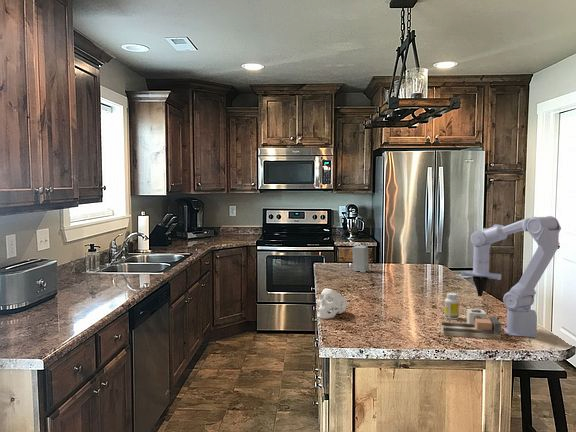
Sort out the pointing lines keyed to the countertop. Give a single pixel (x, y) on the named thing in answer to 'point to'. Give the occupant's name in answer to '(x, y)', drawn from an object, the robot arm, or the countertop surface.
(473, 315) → the gauge cabinet
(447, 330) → the rail bed
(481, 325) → the block
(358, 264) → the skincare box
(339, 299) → the skull bowl
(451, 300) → the supplement bottle
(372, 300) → the countertop surface
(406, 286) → the countertop surface
